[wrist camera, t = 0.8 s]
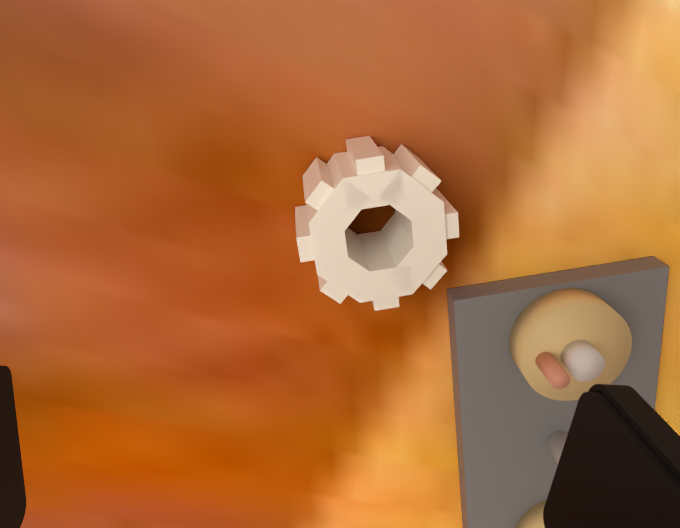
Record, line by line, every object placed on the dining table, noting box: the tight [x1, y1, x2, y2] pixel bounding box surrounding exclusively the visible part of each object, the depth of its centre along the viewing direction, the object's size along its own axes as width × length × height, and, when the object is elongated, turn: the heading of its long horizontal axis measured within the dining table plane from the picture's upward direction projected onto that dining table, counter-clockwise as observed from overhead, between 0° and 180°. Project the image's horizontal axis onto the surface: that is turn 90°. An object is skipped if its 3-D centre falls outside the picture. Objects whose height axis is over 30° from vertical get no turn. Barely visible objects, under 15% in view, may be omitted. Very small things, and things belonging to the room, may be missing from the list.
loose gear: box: [295, 136, 459, 311], centre depth 28 cm, size 7×7×5 cm
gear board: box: [447, 256, 669, 528], centre depth 34 cm, size 12×22×8 cm, turn 8°
